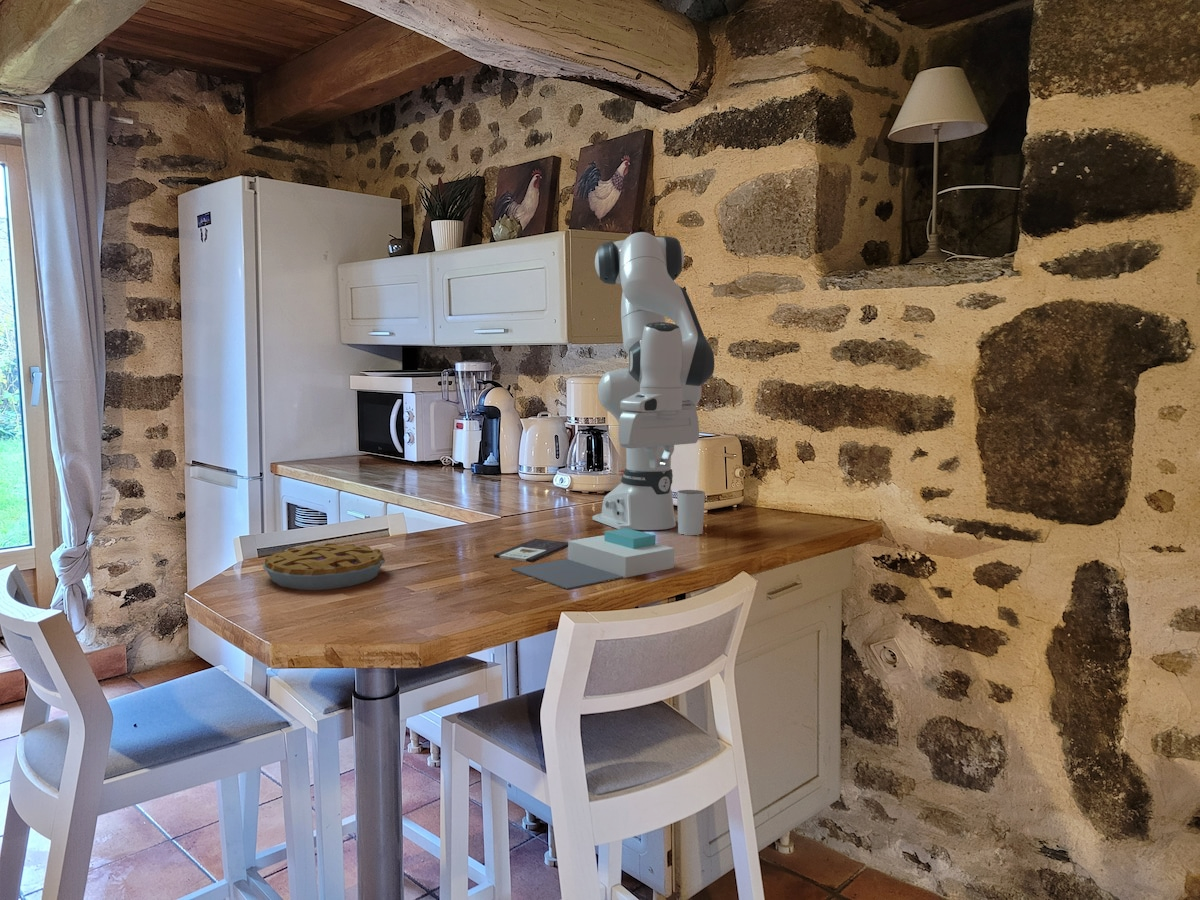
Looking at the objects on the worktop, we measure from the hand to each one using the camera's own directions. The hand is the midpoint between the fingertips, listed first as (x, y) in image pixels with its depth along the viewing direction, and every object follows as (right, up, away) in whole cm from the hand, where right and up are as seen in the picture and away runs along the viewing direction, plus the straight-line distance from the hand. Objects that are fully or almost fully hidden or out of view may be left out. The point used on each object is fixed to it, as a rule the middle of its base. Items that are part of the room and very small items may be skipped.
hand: (659, 467), depth 184 cm
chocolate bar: (-27, -19, +6) cm, 33 cm away
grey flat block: (-8, -20, -5) cm, 22 cm away
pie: (-65, -21, -17) cm, 70 cm away
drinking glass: (+9, -17, +27) cm, 33 cm away
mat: (-19, -21, -13) cm, 31 cm away
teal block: (-6, -16, -3) cm, 17 cm away
